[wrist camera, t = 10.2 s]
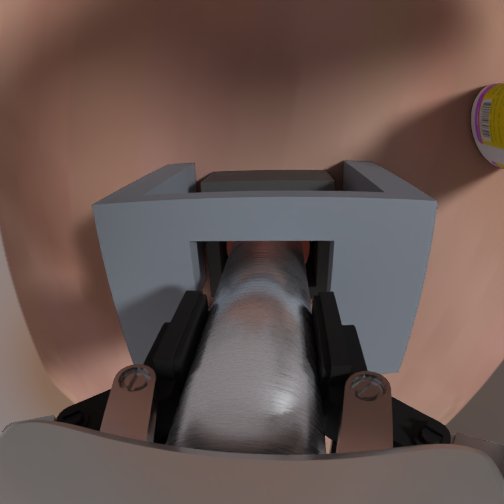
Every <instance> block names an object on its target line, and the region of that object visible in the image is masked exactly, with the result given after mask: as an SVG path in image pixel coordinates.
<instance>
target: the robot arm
mask: <svg viewBox="0 0 504 504" xmlns="http://www.w3.org/2000/svg"><path fill="white" fill-rule="evenodd" d="M208 314H209V310H208V302H207V296H206V295H203V294H202V292H201V291H191V290H187V291H186V292H185V294H184V296H183V298H182V300H181V302H180V304H179V306H178V308H177V310H176V312H175V314H174V316H173V318H172V320H171V322H165V323H164V324H163V325H162V327H161V329H160V331H159V333H158V335H157V337H156V339H155V341H154V343H153V345H152V347H151V349H150V351H149V353H148V355H147V357H146V359H145V361H144V363H143V365H142V364H134V365H130V366H127V367H125V368H123V369H121V370H120V371H119V372H118V373H117V374H116V376H115V378H114V381H113V384H112V388H111V389H110V390H107V391H105V392H103V393H100V394H98V395H96V396H93V397H91V398H89V399H86V400H84V401H81V402H79V403H77V404H74V405H72V406H69V407H68V408H66V409H64V410H63V411H62V412H61V413H60V414H59V415H58V417H57V418H55V416H54V415H51V416H45V417H40V418H35V419H30V420H25V421H18V422H14V423H11V424H9V425H7V426H6V427H5V429H4V430H3V431H2V434H1V435H0V504H504V445H502V444H499V443H495V442H490V441H486V440H482V439H478V438H475V437H471V436H467V435H464V434H460V433H456V435H452V434H450V433H449V430H448V429H447V428H446V426H445V425H443V424H442V423H440V422H439V421H437V420H435V419H433V418H431V417H429V416H427V415H425V414H423V413H421V412H419V411H417V410H416V409H414V408H412V407H410V406H408V405H406V404H404V403H403V402H401V401H399V400H397V399H395V398H393V397H392V396H391V387H390V383H389V382H388V380H387V379H386V378H385V377H384V376H382V375H381V374H378V373H376V372H371V371H368V370H367V366H366V363H365V359H364V355H363V352H362V348H361V345H360V341H359V338H358V334H357V331H356V328H355V326H354V325H342V323H341V319H340V315H339V311H338V307H337V303H336V299H335V295H334V292H333V291H330V292H319V293H318V295H313V304H312V321H313V329H314V337H315V346H316V355H317V364H318V374H319V384H320V391H321V398H322V409H323V420H324V433H325V435H326V436H327V437H329V438H330V439H331V445H330V451H329V454H307V455H273V454H247V453H231V452H219V451H209V450H200V449H192V448H185V447H177V446H171V445H165V444H166V441H167V438H168V435H169V432H170V429H171V425H172V422H173V419H174V416H175V413H176V410H177V407H178V404H179V401H180V398H181V395H182V391H183V388H184V385H185V382H186V379H187V376H188V373H189V370H190V367H191V364H192V361H193V358H194V355H195V352H196V349H197V346H198V343H199V340H200V337H201V334H202V331H203V329H204V326H205V323H206V320H207V317H208Z"/></svg>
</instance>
